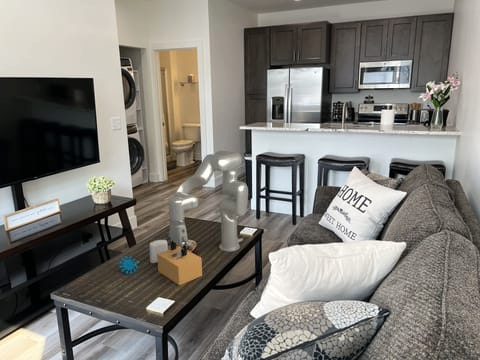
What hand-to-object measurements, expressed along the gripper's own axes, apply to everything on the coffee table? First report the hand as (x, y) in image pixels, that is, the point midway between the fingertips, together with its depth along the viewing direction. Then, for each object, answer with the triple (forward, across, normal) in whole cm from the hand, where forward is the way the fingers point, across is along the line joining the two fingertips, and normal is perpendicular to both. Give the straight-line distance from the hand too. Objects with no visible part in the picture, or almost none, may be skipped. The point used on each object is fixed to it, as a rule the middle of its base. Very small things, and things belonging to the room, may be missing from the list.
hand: (178, 252), depth 185 cm
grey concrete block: (+10, 0, 0) cm, 10 cm away
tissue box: (+12, 0, 0) cm, 12 cm away
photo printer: (+12, +20, 0) cm, 24 cm away
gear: (+12, +21, +18) cm, 30 cm away
